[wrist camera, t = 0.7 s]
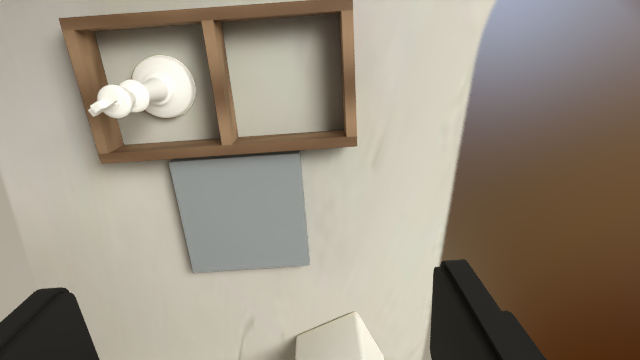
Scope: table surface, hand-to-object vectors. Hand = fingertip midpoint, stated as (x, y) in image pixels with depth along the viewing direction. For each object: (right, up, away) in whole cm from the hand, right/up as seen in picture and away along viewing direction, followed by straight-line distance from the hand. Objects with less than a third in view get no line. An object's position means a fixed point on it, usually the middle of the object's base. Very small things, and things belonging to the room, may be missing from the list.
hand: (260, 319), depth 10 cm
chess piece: (-11, +11, +20) cm, 25 cm away
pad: (-5, +1, +24) cm, 24 cm away
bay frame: (-6, +11, +20) cm, 24 cm away
